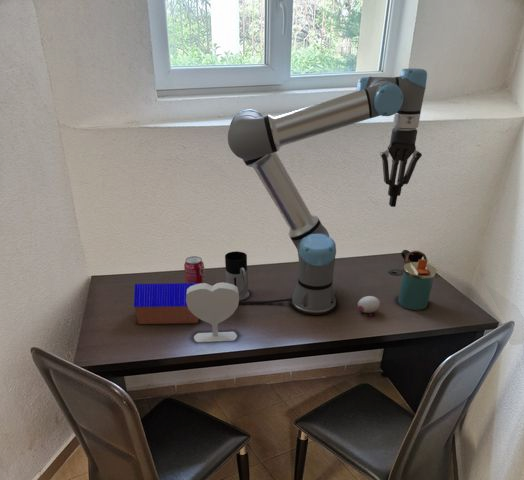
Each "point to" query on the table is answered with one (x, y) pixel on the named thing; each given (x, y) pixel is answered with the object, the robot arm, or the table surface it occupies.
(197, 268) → the soda can
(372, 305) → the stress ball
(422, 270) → the slider
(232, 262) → the grey coffee mug
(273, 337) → the table surface
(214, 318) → the heart sculpture
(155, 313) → the house
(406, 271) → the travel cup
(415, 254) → the pottery mug
